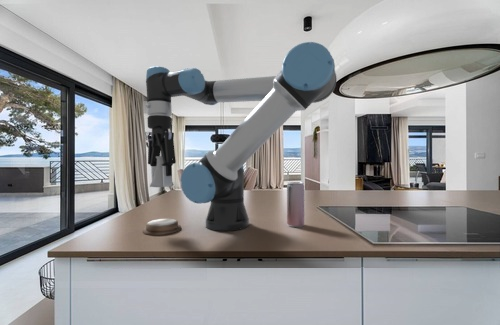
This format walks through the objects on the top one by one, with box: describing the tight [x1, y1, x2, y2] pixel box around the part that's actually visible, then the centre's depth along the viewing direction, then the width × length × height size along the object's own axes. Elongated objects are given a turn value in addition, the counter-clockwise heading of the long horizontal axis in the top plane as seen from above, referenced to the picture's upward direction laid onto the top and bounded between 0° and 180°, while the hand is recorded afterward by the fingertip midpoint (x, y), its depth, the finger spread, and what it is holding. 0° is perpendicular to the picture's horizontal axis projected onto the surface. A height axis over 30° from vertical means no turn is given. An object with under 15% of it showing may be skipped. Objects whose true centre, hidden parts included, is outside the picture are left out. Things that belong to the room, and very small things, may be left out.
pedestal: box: [142, 218, 182, 236], centre depth 84 cm, size 12×12×3 cm
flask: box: [149, 155, 174, 188], centre depth 84 cm, size 7×7×10 cm
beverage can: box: [286, 181, 305, 228], centre depth 89 cm, size 6×6×15 cm
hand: (161, 185), depth 84 cm, fingers closed on flask, 7 cm apart
